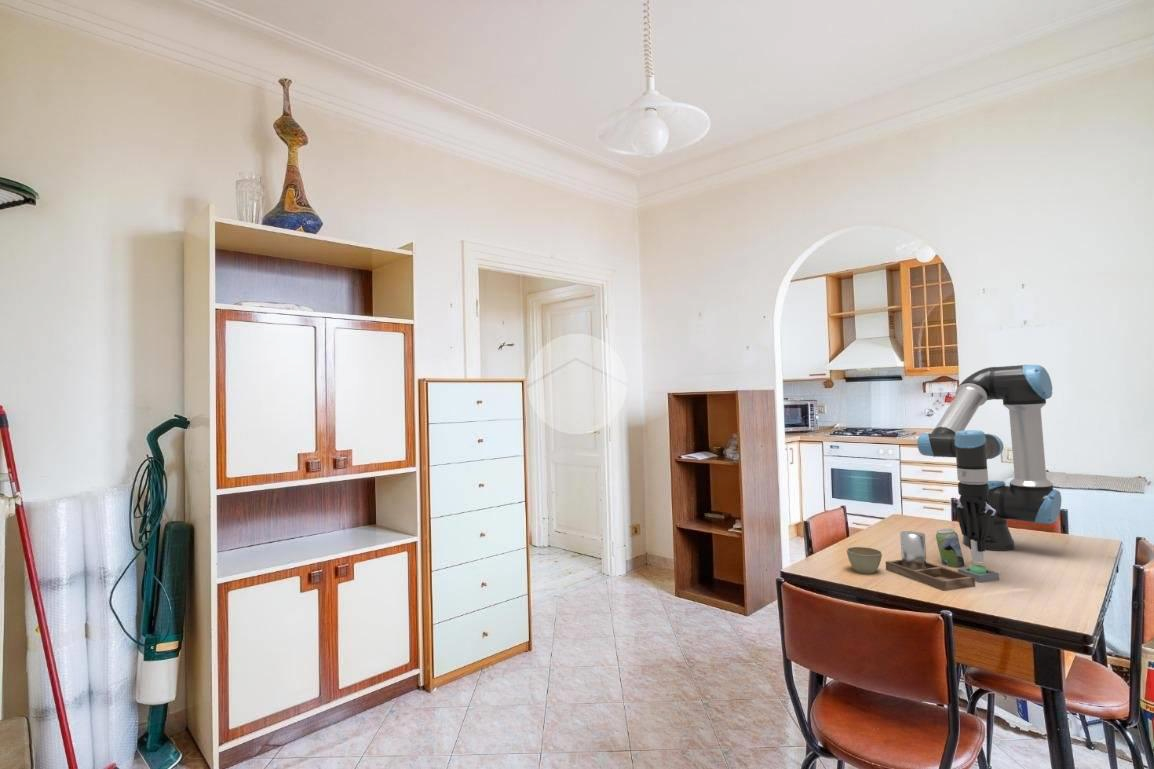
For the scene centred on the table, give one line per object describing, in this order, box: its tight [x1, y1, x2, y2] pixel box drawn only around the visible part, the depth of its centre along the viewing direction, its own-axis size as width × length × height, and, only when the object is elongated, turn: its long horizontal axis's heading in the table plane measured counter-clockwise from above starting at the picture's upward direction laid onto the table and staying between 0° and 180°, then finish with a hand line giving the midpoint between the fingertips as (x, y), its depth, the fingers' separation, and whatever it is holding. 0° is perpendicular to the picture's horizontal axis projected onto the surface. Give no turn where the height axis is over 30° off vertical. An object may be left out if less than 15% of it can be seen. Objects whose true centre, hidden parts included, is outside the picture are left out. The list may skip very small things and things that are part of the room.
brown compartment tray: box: [885, 559, 976, 592], centre depth 168 cm, size 11×21×4 cm, turn 13°
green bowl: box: [846, 546, 883, 574], centre depth 177 cm, size 10×10×7 cm
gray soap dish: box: [957, 566, 1000, 583], centre depth 166 cm, size 7×7×3 cm
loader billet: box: [899, 530, 927, 570], centre depth 173 cm, size 7×7×12 cm
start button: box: [969, 564, 987, 574], centre depth 166 cm, size 4×4×3 cm
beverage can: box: [935, 528, 965, 568], centre depth 180 cm, size 6×7×12 cm
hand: (977, 561), depth 166 cm, fingers closed
